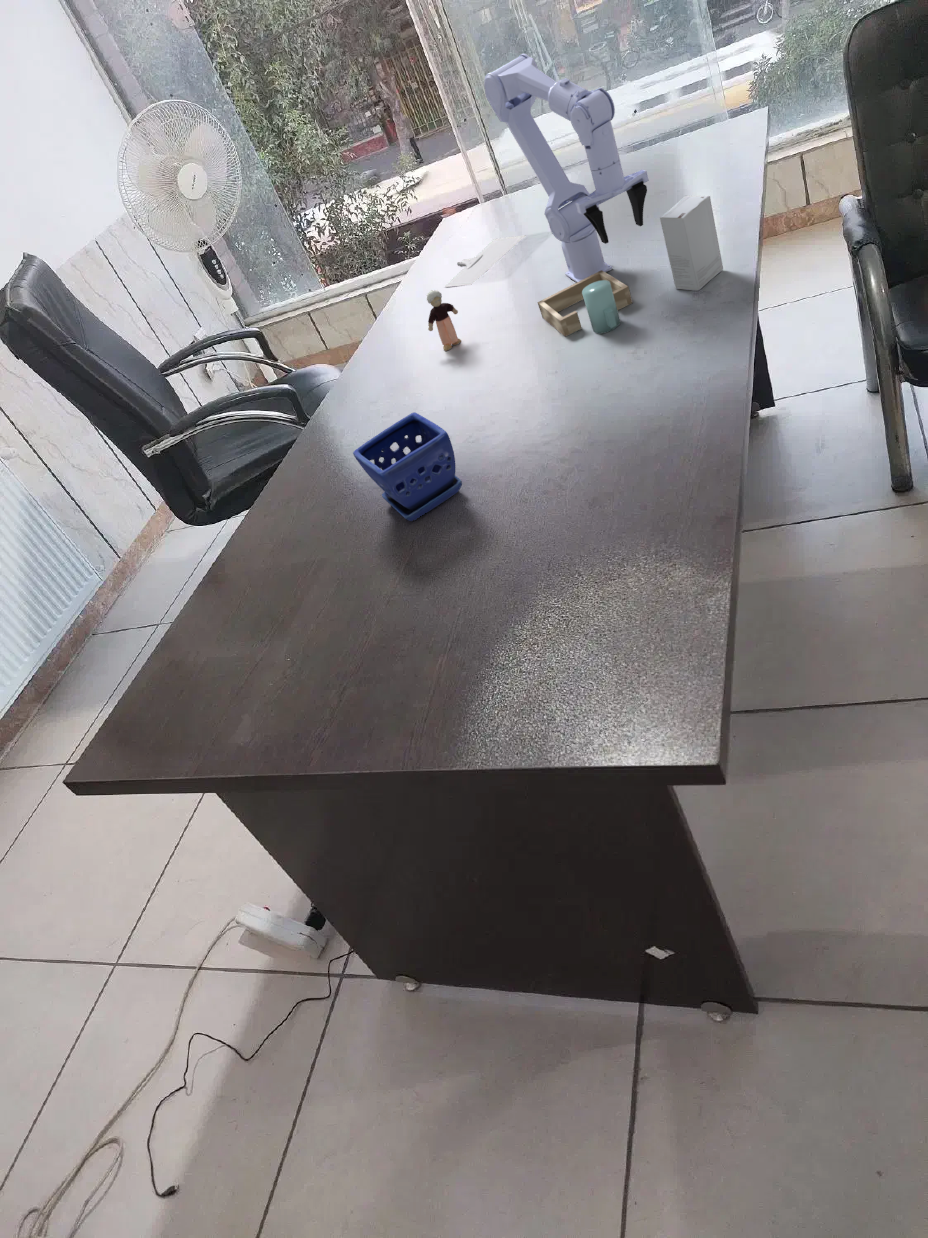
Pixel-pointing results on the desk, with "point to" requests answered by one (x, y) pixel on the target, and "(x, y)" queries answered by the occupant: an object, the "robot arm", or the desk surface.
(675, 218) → the skincare box
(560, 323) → the cradle
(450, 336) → the grandmother figurine
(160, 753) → the desk surface
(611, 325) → the teal cylinder with tab
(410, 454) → the flower pot
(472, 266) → the white flat panel
